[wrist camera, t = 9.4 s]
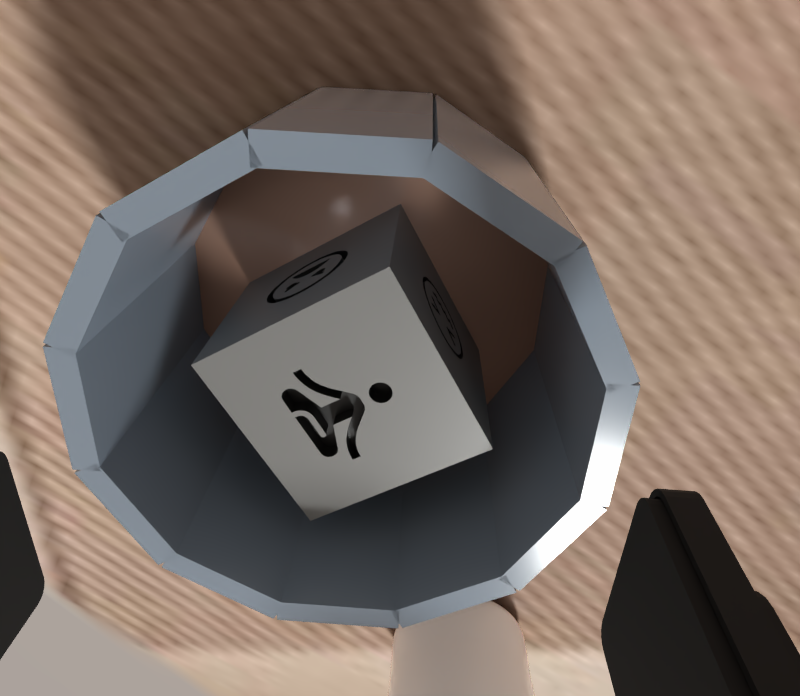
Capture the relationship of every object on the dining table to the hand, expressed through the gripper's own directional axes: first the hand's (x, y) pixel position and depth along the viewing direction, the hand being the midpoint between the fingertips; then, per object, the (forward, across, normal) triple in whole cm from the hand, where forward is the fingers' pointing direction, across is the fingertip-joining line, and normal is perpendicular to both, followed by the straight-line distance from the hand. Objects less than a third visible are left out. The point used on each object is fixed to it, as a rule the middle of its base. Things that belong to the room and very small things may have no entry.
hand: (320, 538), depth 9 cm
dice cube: (+10, 0, +1) cm, 10 cm away
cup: (+11, 0, 0) cm, 11 cm away
